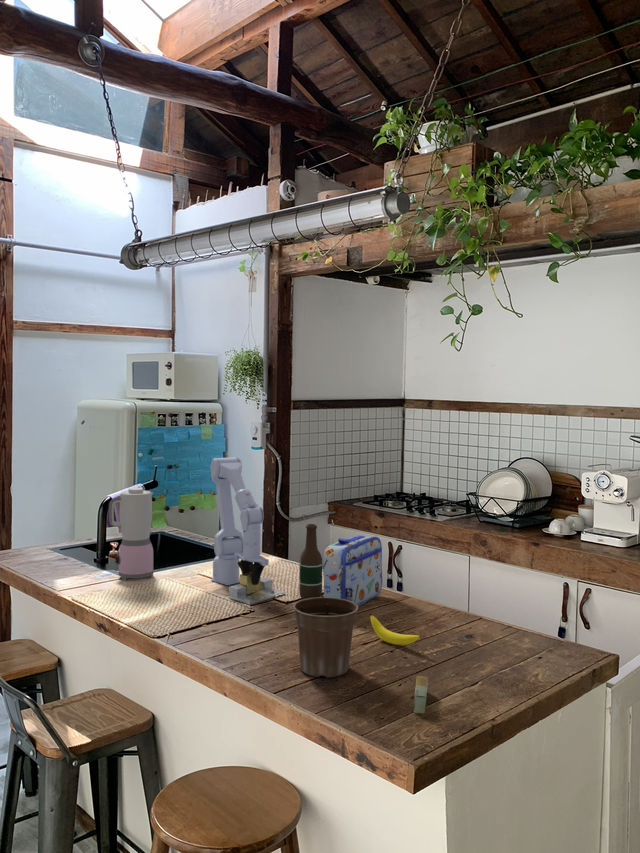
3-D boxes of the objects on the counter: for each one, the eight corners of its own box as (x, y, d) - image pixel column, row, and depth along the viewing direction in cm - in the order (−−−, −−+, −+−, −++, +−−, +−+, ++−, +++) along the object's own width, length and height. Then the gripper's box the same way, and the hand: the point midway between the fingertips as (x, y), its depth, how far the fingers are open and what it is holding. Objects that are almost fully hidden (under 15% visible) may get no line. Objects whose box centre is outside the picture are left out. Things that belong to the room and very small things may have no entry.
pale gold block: (228, 589, 252) (227, 571, 252) (241, 585, 256) (241, 568, 256) (247, 594, 245) (246, 576, 245) (260, 590, 250) (260, 572, 250)
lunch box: (346, 617, 227) (347, 546, 226) (317, 611, 233) (318, 541, 231) (385, 595, 251) (387, 530, 249) (358, 590, 256) (359, 527, 255)
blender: (150, 570, 277) (149, 485, 275) (157, 579, 266) (157, 490, 264) (106, 575, 271) (106, 487, 268) (112, 583, 260) (111, 492, 257)
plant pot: (320, 651, 198) (321, 592, 197) (369, 667, 188) (371, 604, 187) (279, 669, 186) (279, 606, 185) (329, 687, 176) (330, 620, 175)
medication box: (425, 715, 163) (426, 697, 162) (412, 713, 163) (413, 696, 163) (426, 692, 174) (427, 675, 174) (415, 691, 175) (416, 674, 175)
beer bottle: (319, 600, 244) (320, 527, 243) (296, 598, 246) (297, 526, 244) (324, 593, 252) (325, 523, 250) (301, 591, 254) (302, 521, 252)
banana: (415, 655, 197) (416, 632, 196) (365, 636, 211) (365, 614, 211) (423, 653, 199) (423, 629, 198) (372, 633, 213) (373, 612, 213)
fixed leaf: (229, 598, 245) (229, 586, 245) (264, 588, 257) (264, 577, 256) (249, 604, 238) (249, 593, 238) (285, 594, 250) (285, 583, 250)
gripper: (228, 541, 250) (227, 581, 251) (257, 548, 240) (257, 590, 241) (243, 538, 255) (243, 577, 256) (273, 545, 246) (273, 585, 247)
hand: (251, 583), depth 249 cm, fingers closed on pale gold block, 3 cm apart
